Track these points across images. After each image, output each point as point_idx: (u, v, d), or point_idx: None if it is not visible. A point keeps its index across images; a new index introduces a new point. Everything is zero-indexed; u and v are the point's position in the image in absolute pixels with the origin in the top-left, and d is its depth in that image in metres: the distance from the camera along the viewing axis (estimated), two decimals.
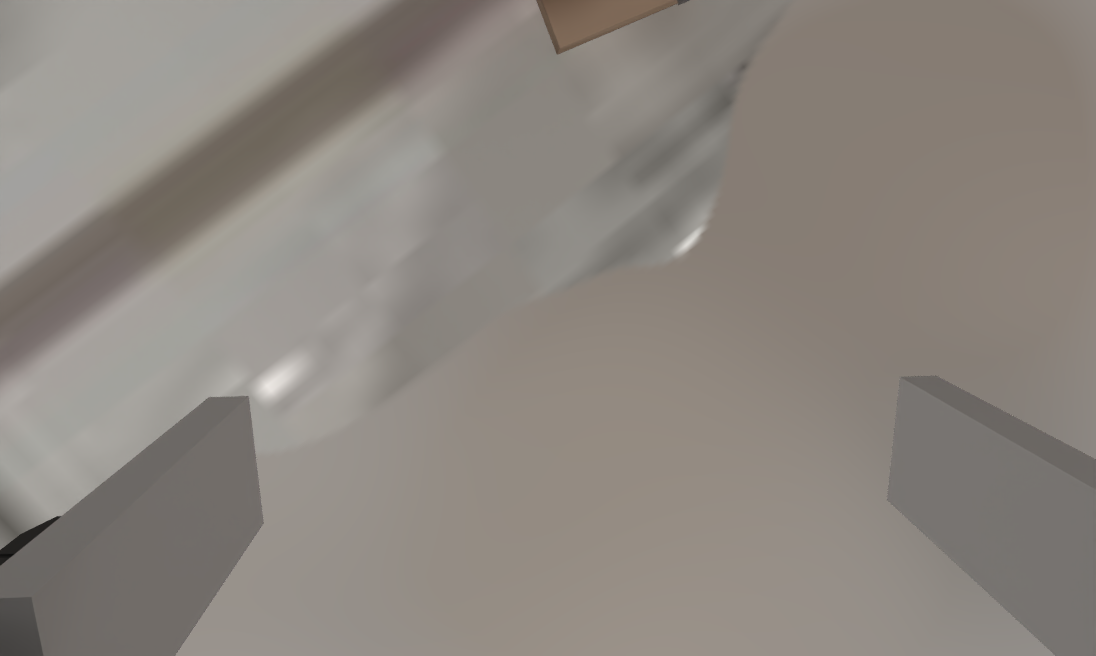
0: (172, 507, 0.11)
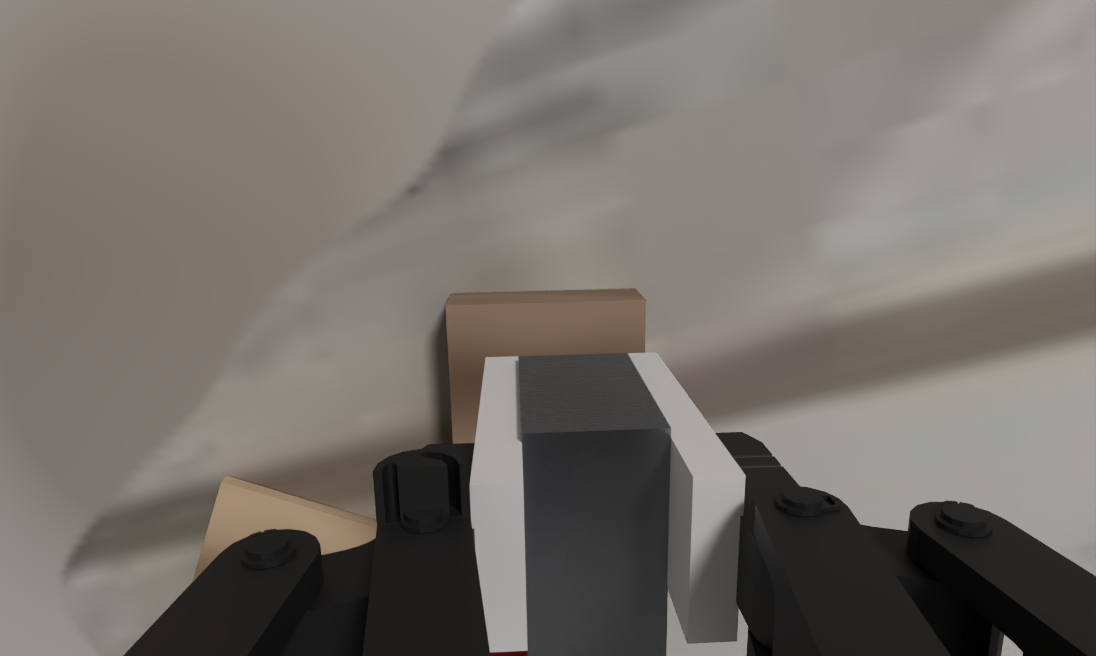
0: None
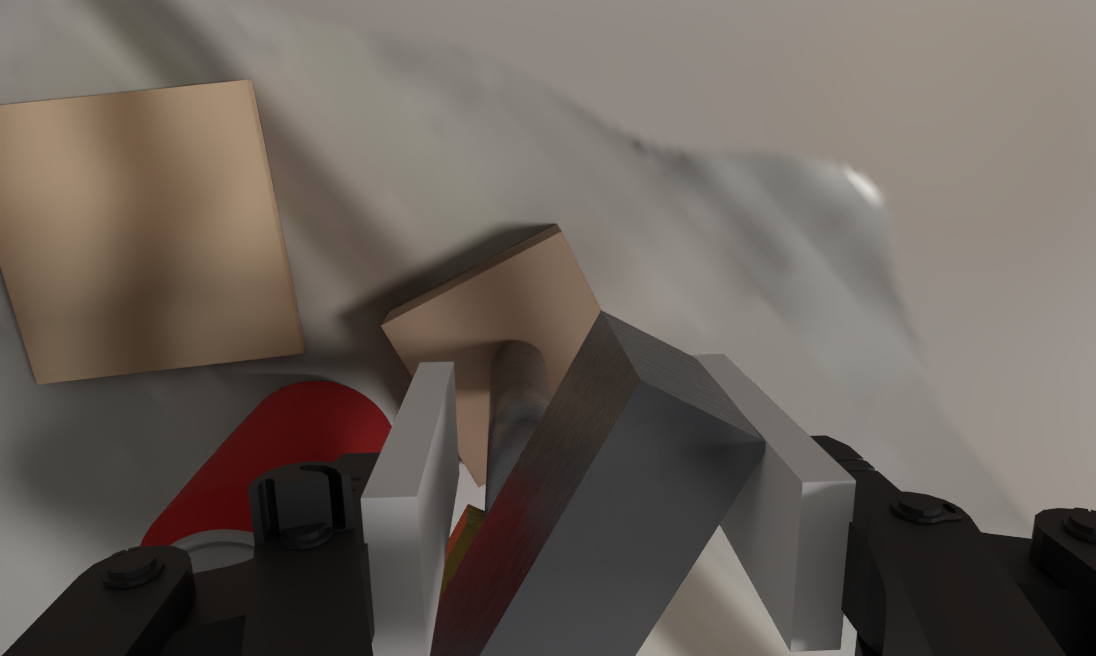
0: (441, 446, 0.13)
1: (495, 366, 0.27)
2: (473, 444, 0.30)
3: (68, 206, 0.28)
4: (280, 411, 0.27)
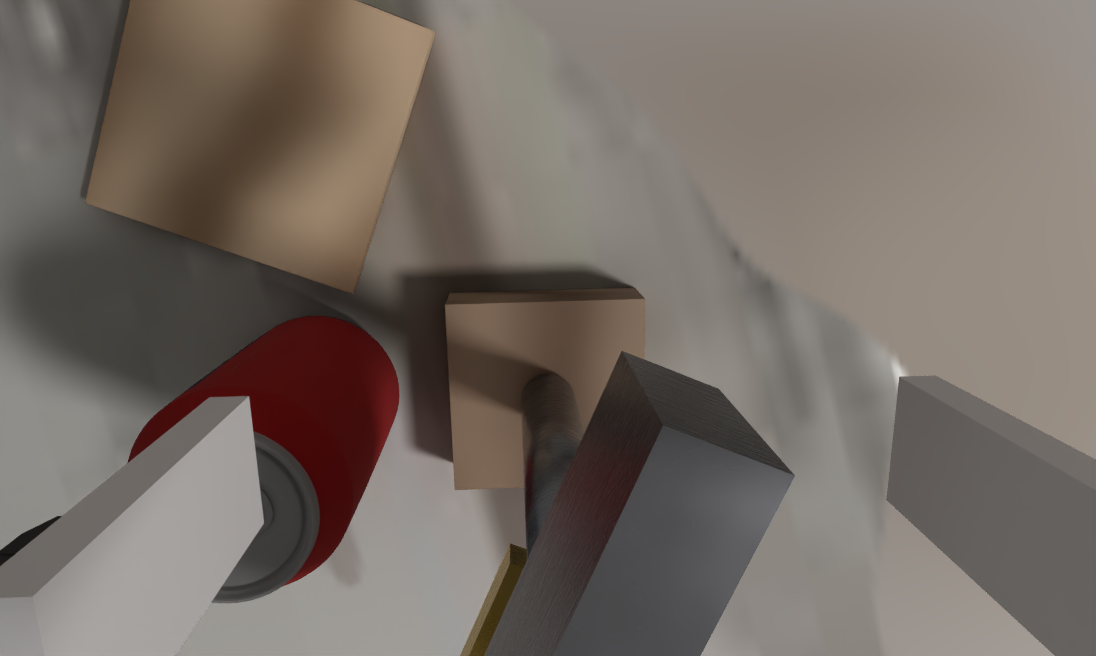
0: (173, 507, 0.11)
1: (525, 401, 0.28)
2: (470, 449, 0.30)
3: (208, 58, 0.28)
4: (320, 340, 0.27)
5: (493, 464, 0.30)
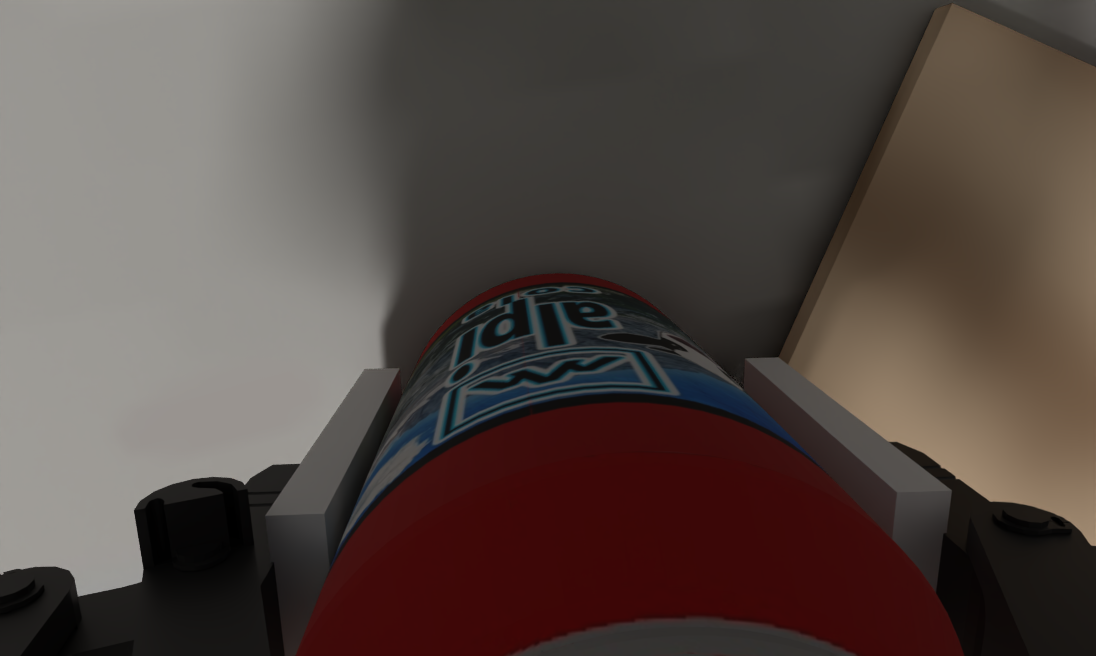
0: (372, 457, 0.12)
1: None
2: None
3: None
4: None
5: None
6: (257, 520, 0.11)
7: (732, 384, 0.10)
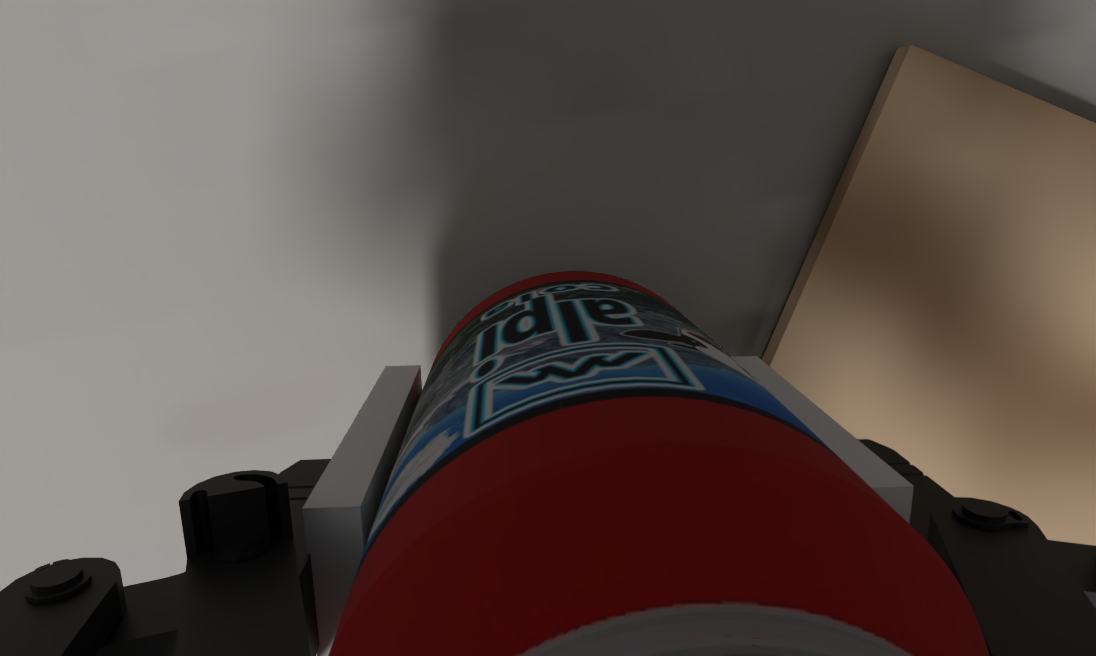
0: (398, 452, 0.13)
1: None
2: None
3: None
4: None
5: None
6: None
7: (752, 380, 0.10)
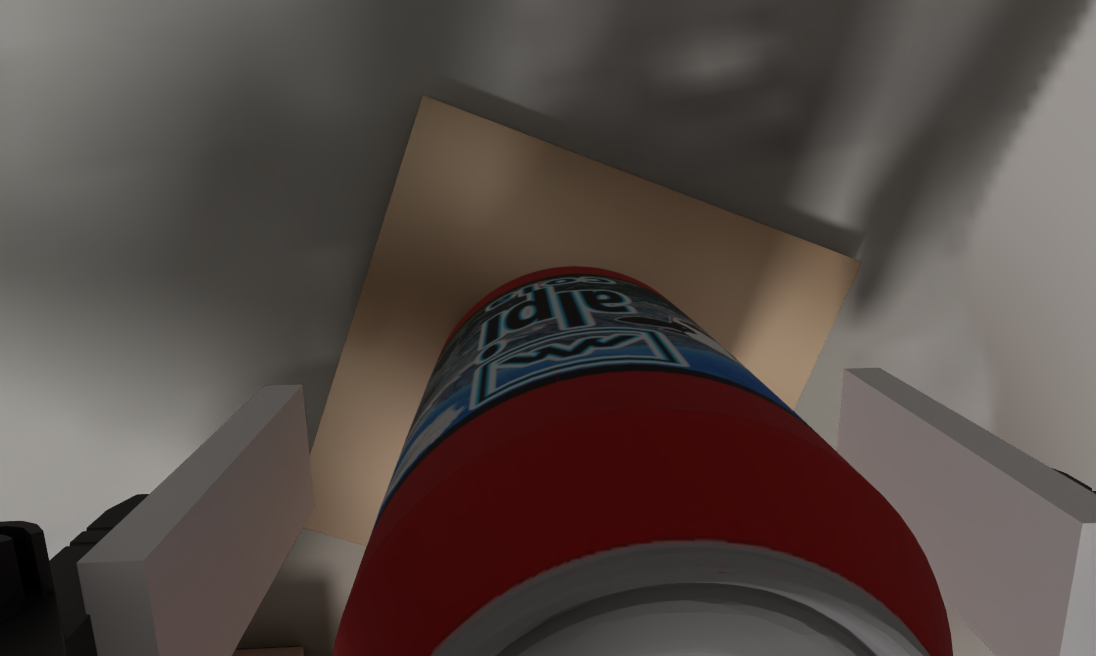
0: (245, 486, 0.11)
1: None
2: None
3: None
4: None
5: None
6: None
7: (737, 362, 0.11)
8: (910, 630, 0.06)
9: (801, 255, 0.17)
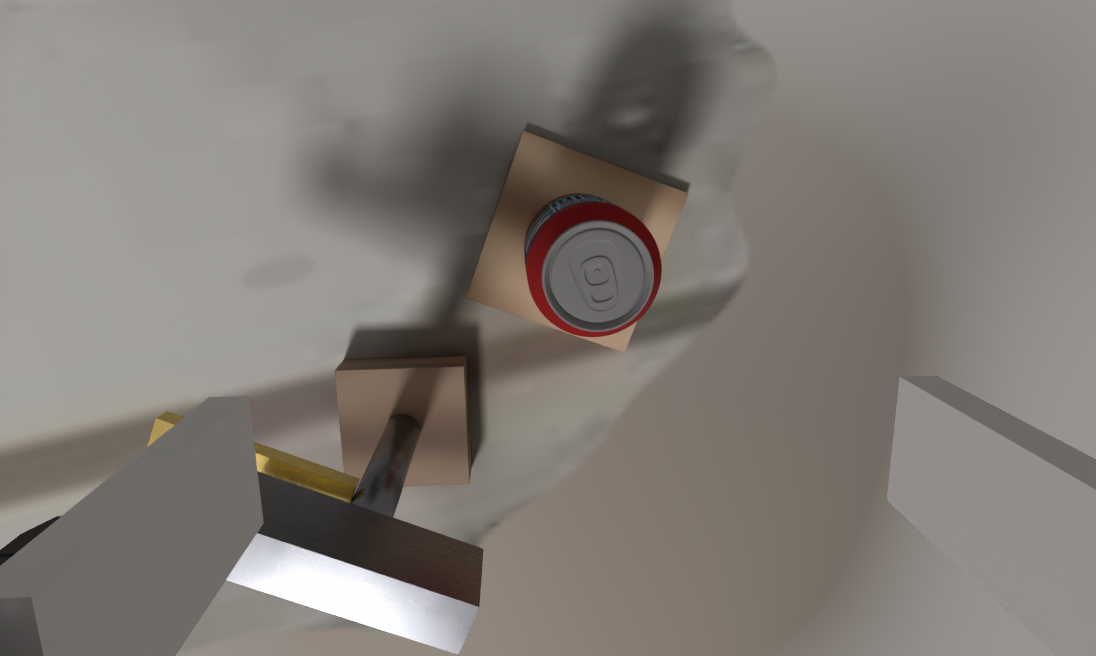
0: (173, 507, 0.11)
1: (407, 426, 0.44)
2: (365, 381, 0.45)
3: None
4: None
5: (354, 395, 0.46)
6: None
7: None
8: (640, 238, 0.34)
9: (664, 190, 0.45)
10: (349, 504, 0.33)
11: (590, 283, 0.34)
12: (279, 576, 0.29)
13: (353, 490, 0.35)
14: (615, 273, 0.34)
